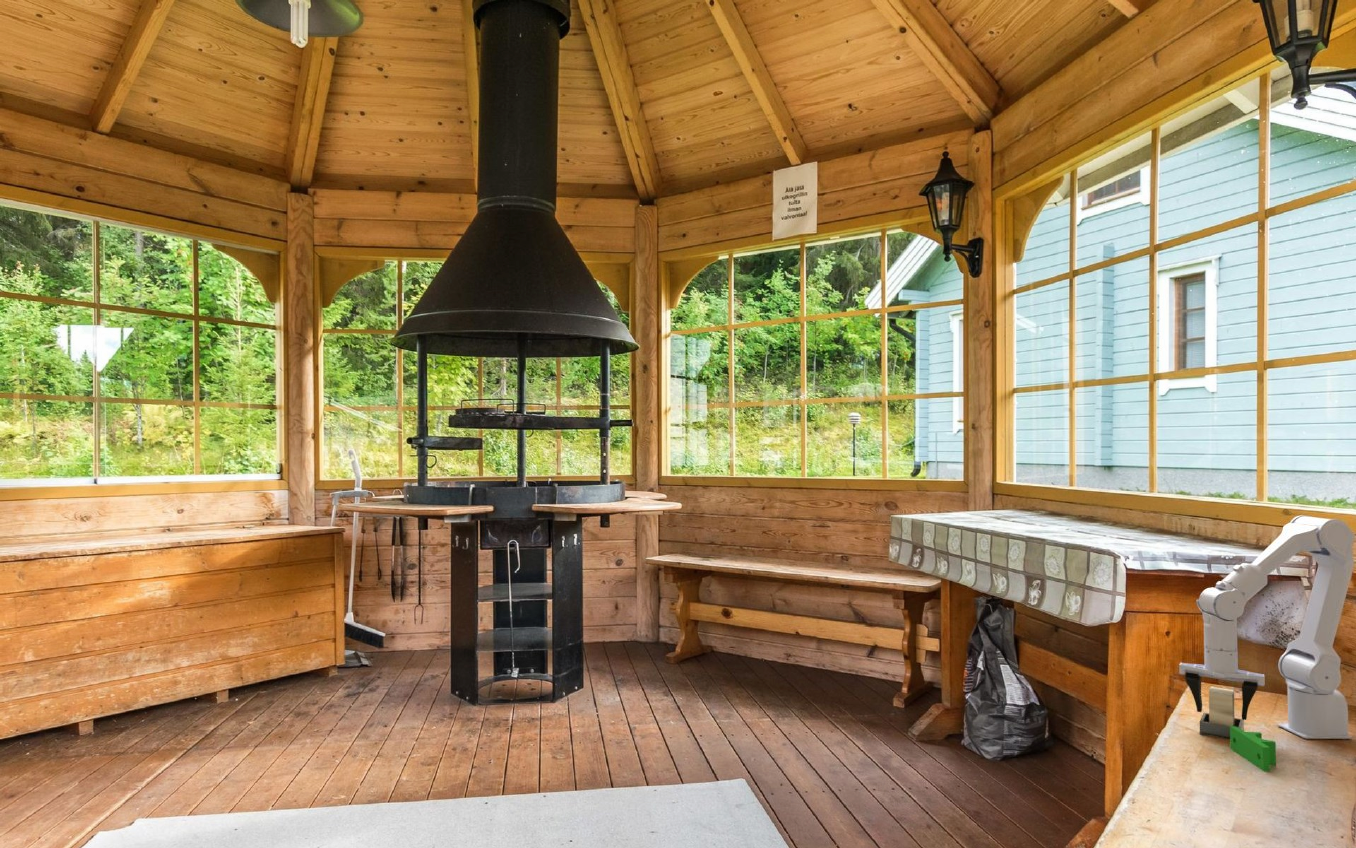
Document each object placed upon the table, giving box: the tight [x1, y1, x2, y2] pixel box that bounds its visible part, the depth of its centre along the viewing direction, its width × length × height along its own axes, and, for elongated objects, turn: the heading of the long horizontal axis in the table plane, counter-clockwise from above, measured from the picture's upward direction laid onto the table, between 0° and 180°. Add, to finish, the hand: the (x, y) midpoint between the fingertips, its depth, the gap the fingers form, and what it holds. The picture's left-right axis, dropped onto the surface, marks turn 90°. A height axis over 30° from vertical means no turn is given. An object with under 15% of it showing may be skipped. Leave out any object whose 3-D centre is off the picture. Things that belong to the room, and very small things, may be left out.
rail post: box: [1208, 686, 1235, 726], centre depth 169 cm, size 4×4×8 cm
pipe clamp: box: [1229, 726, 1277, 772], centre depth 155 cm, size 11×4×5 cm, turn 173°
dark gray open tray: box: [1199, 712, 1245, 740], centre depth 169 cm, size 7×7×2 cm
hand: (1221, 714), depth 169 cm, fingers open, 7 cm apart
